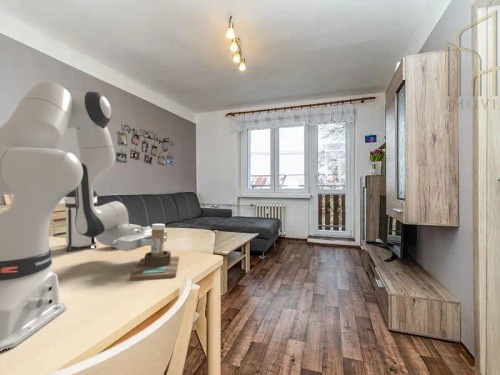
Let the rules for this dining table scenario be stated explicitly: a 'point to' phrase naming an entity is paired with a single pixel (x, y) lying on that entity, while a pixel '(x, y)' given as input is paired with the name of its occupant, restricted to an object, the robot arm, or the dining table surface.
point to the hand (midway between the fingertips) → (159, 241)
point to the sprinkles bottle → (157, 240)
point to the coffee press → (71, 232)
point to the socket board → (156, 267)
